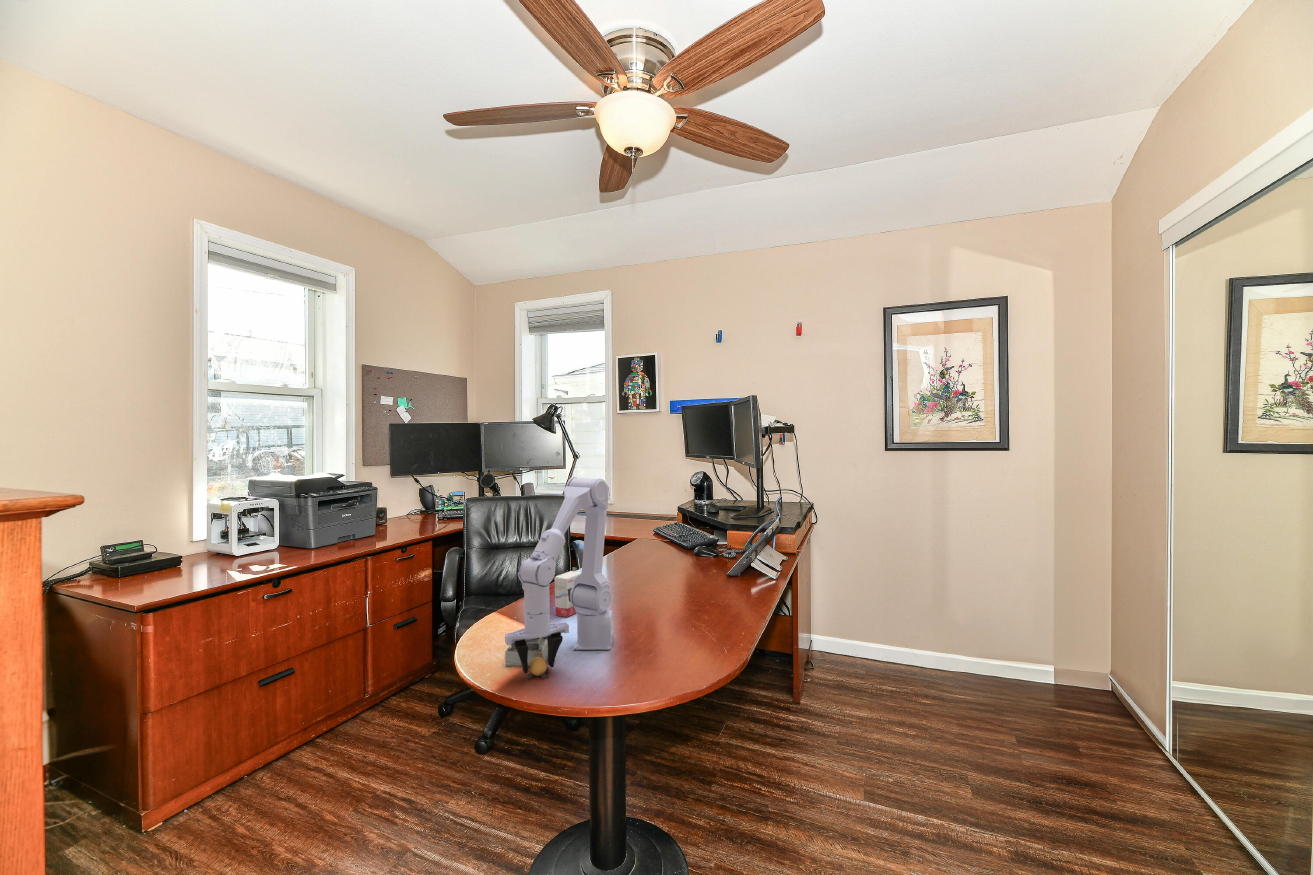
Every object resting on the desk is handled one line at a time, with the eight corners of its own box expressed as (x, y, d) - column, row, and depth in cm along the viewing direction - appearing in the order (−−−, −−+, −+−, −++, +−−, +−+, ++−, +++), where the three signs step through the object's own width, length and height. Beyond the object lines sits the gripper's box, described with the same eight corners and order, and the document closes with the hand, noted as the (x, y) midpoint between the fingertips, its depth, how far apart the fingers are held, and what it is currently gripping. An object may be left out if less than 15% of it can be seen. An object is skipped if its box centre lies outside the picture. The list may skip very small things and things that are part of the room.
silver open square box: (550, 649, 137) (550, 630, 136) (542, 665, 128) (542, 645, 127) (516, 650, 137) (515, 630, 137) (505, 665, 128) (505, 645, 128)
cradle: (548, 670, 125) (548, 667, 125) (544, 678, 121) (544, 675, 121) (531, 670, 125) (531, 667, 125) (527, 678, 121) (527, 675, 121)
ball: (548, 670, 125) (548, 653, 125) (544, 678, 121) (544, 661, 121) (531, 670, 125) (531, 653, 125) (527, 678, 121) (527, 661, 121)
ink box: (567, 618, 159) (566, 579, 159) (554, 615, 162) (553, 577, 161) (584, 609, 167) (584, 572, 166) (572, 606, 169) (571, 570, 169)
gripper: (561, 600, 130) (562, 655, 130) (501, 610, 123) (502, 668, 123) (571, 608, 124) (572, 666, 124) (508, 620, 117) (509, 681, 117)
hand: (538, 668), depth 123 cm, fingers open, 5 cm apart
